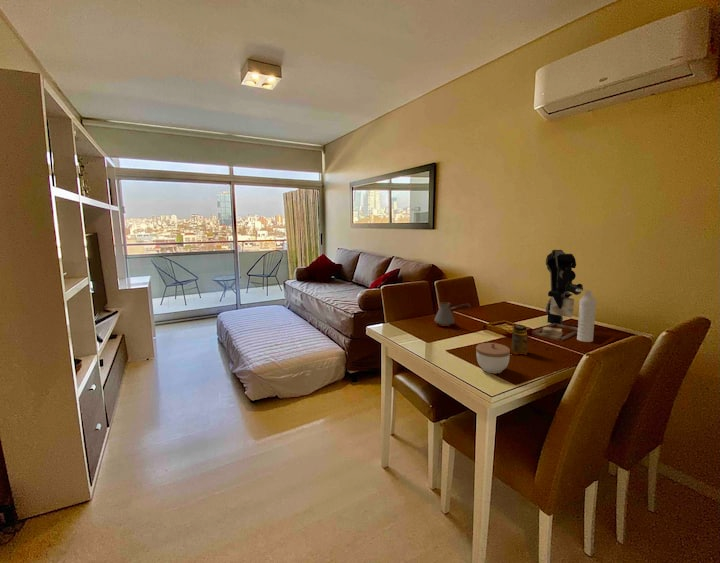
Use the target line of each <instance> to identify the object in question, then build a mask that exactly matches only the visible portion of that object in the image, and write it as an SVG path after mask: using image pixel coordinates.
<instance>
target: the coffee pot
mask: <svg viewBox="0 0 720 563" xmlns="http://www.w3.org/2000/svg"><path fill="white" fill-rule="evenodd" d="M438 304H439V307H438V308H439V309H438V311H437V313H436V315H435V317H434V318H433V319H434V320H433V321H434V323H438V324H443V325H448V324H452V325H454V323H455V322H456V320H455V318H454V315H453V313H452V311H451V310H455V309H458V308H463V307H466V306H468V308H470V303H469V302H467V303H462V304H460V305H455V306H453V307H450V306H451V303H450V302H447V301H440V302H439V303H438ZM438 324H437V325H438Z"/></svg>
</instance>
